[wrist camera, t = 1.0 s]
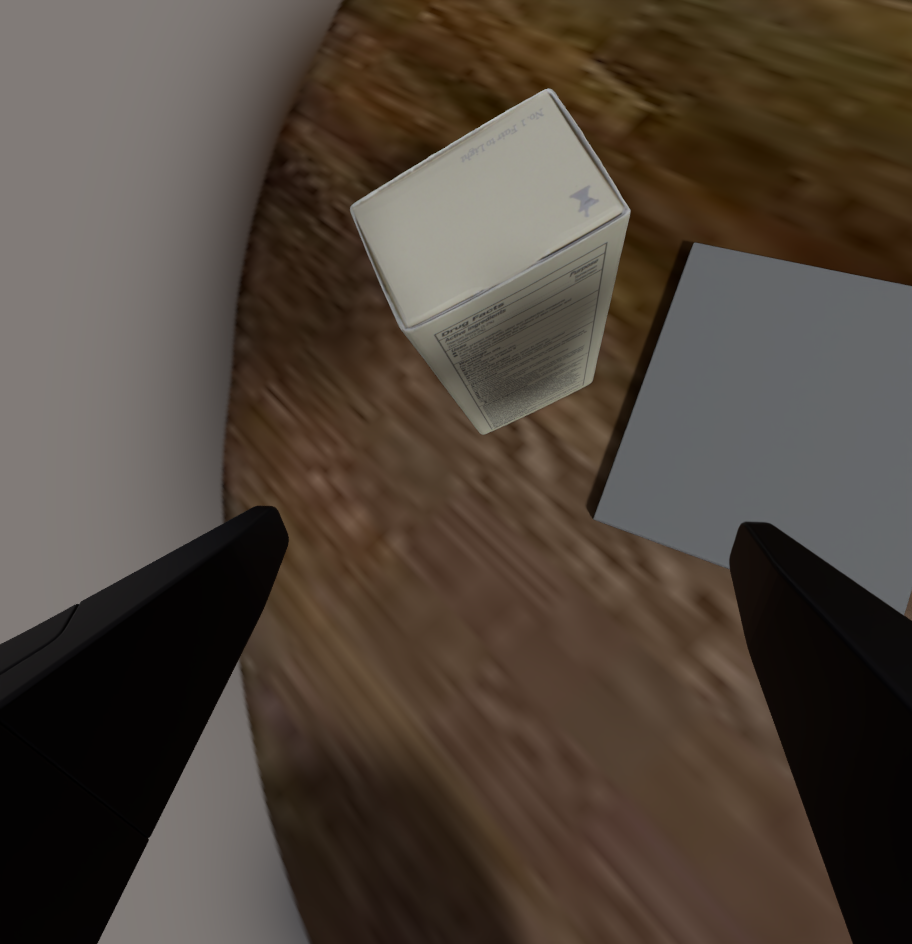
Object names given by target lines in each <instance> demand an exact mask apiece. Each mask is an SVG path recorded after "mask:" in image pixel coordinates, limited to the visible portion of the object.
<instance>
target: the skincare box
mask: <svg viewBox="0 0 912 944" xmlns="http://www.w3.org/2000/svg"><path fill="white" fill-rule="evenodd" d="M350 212H351V215H352V217H353V220H354V222H355V224H356V227H357V229H358V232H359V234H360V237H361V239H362V242H363V244H364V247H365V249H366V252H367V254H368V257H369V259H370V261H371V264H372V266H373V268H374V271H375V273H376V276H377V278H378V280H379V283H380V285H381V287H382V290H383V292H384V294H385V296H386V299H387V301H388V303H389V305H390V308H391V310H392V312H393V314H394V316H395V318H396V321H397V323H398V325H399V327H400V329H401V330H402V332H403V333H404V334H405V336H406V337H407V338H408V339H409V341H410V342H411V343H412V344H413V346H414V347H415V348H416V350H417V351H418V352H419V353H420V355H421V356H422V357H423V359H424V360H425V361H426V363H427V364H428V365H429V367H430V368H431V369H432V371H433V372H434V373H435V375H436V376H437V377H438V379H439V380H440V381H441V383H442V384H443V385H444V387H445V388H446V389H447V390H448V392H449V393H450V394H451V396H452V397H453V399H454V400H455V401H456V402H457V404H458V405H459V406H460V408H461V409H462V410H463V412H464V413H465V414H466V416H467V417H468V418H469V420H470V421H471V422H472V424H473V425H474V426H475V428H476V429H477V430H478V432H479V433H480V434H487V433H489V432H491V431H494V430H496V429H498V428H500V427H502V426H505V425H507V424H509V423H511V422H513V421H515V420H518V419H520V418H522V417H524V416H526V415H528V414H530V413H532V412H535V411H537V410H539V409H541V408H543V407H545V406H547V405H549V404H551V403H553V402H555V401H557V400H559V399H561V398H563V397H565V396H567V395H569V394H571V393H573V392H575V391H577V390H579V389H581V388H583V387H585V386H587V385H589V384H590V383H591V382H592V381H593V377H594V373H595V368H596V363H597V358H598V354H599V349H600V345H601V341H602V336H603V332H604V327H605V323H606V318H607V314H608V309H609V305H610V301H611V296H612V292H613V287H614V283H615V278H616V273H617V269H618V264H619V260H620V255H621V251H622V247H623V243H624V238H625V234H626V229H627V225H628V221H629V217H630V209H629V207H628V206H627V204H626V203H625V201H624V200H623V198H622V197H621V195H620V193H619V191H618V189H617V187H616V186H615V184H614V183H613V181H612V179H611V178H610V176H609V175H608V173H607V171H606V169H605V168H604V167H603V165H602V163H601V161H600V159H599V158H598V157H597V155H596V154H595V152H594V151H593V149H592V147H591V146H590V144H589V143H588V141H587V140H586V138H585V136H584V135H583V133H582V131H581V130H580V128H579V127H578V125H577V124H576V122H575V121H574V119H573V118H572V116H571V115H570V114H569V112H568V111H567V109H566V108H565V106H564V105H563V104H562V102H561V101H560V99H559V98H558V96H557V95H556V93H555V92H554V91H553V90H552V89H545V90H543V91H541V92H539V93H538V94H536V95H534V96H533V97H531V98H529V99H527V100H525V101H523V102H522V103H520V104H518V105H516V106H514V107H513V108H511V109H509V110H507V111H505V112H504V113H502V114H500V115H499V116H497V117H496V118H494V119H492V120H490V121H489V122H487V123H485V124H483V125H482V126H480V127H479V128H477V129H475V130H474V131H471V132H470V133H468V134H467V135H465V136H463V137H462V138H460V139H458V140H456V141H455V142H453V143H451V144H450V145H448V146H447V147H445V148H444V149H442V150H440V151H439V152H437V153H435V154H433V155H431V156H429V157H428V158H427V159H426V160H423V161H422V162H420V163H418V164H417V165H415V166H414V167H412V168H410V169H408V170H407V171H405V172H404V173H402V174H400V175H399V176H397V177H396V178H394V179H393V180H391V181H389V182H387V183H386V184H384V185H382V186H381V187H379V188H378V189H376V190H374V191H373V192H371V193H369V194H368V195H367V196H365V197H363V198H361V199H360V200H358V201H356V202H355V203H354V204H352V205H351V208H350Z"/></svg>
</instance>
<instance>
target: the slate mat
mask: <svg viewBox="0 0 912 944" xmlns="http://www.w3.org/2000/svg"><path fill="white" fill-rule="evenodd" d="M593 519H594V520H596V521H599V522H602V523H605V524H607V525H610V526H613V527H615V528H618V529H621V530H624V531H626V532H629V533H632V534H635V535H637V536H640V537H643V538H645V539H648V540H651V541H654V542H656V543H659V544H662V545H665V546H667V547H670V548H673V549H675V550H678V551H681V552H684V553H686V554H689V555H692V556H695V557H697V558H700V559H703V560H706V561H708V562H711V563H714V564H716V565H719V566H722V567H725V568H727V569H730V567H729V558H730V553H731V550H732V547H733V543H734V540H735V537H736V534H737V531H738V528H739V526H740V524H741V523H743V522H745V521H752V522H768V523H771V524H773V525H774V526H776V527H777V528H778V529H780V530H781V531H783V532H784V533H786V534H787V535H789V536H790V537H791V538H793V539H794V540H796V541H797V542H799V543H800V544H802V545H803V546H804V547H806V548H807V549H809V550H810V551H812V552H813V553H815V554H816V555H817V556H819V557H820V558H822V559H823V560H825V561H826V562H828V563H829V564H830V565H832V566H833V567H835V568H836V569H838V570H839V571H841V572H842V573H843V574H845V575H846V576H848V577H849V578H851V579H852V580H853V581H855V582H856V583H858V584H859V585H861V586H862V587H864V588H865V589H866V590H868V591H869V592H871V593H872V594H874V595H875V596H877V597H878V598H879V599H881V600H882V601H884V602H885V603H887V604H888V605H890V606H891V607H892V608H894V609H895V610H897V611H898V612H900V613H901V614H903V615H904V613H905V610H906V607H907V603H908V600H909V597H910V593H911V590H912V286H907V285H902V284H897V283H892V282H887V281H882V280H877V279H872V278H867V277H862V276H858V275H853V274H848V273H843V272H838V271H833V270H828V269H823V268H818V267H813V266H808V265H803V264H798V263H793V262H788V261H783V260H778V259H773V258H768V257H763V256H759V255H754V254H749V253H744V252H739V251H734V250H729V249H724V248H719V247H714V246H709V245H704V244H699V243H694V244H693V246H692V248H691V250H690V253H689V256H688V258H687V261H686V264H685V267H684V269H683V272H682V275H681V278H680V280H679V283H678V286H677V289H676V291H675V294H674V297H673V300H672V302H671V305H670V308H669V311H668V314H667V316H666V319H665V322H664V325H663V327H662V330H661V333H660V336H659V338H658V341H657V344H656V347H655V349H654V352H653V355H652V358H651V360H650V363H649V366H648V369H647V371H646V374H645V377H644V380H643V382H642V385H641V388H640V391H639V393H638V396H637V399H636V402H635V404H634V407H633V410H632V413H631V415H630V418H629V421H628V424H627V426H626V429H625V432H624V435H623V438H622V440H621V443H620V446H619V449H618V451H617V454H616V457H615V460H614V462H613V465H612V468H611V471H610V473H609V476H608V479H607V482H606V484H605V487H604V490H603V493H602V495H601V498H600V501H599V504H598V506H597V509H596V512H595V515H594V517H593Z"/></svg>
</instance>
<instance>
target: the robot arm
mask: <svg viewBox="0 0 912 944" xmlns="http://www.w3.org/2000/svg"><path fill="white" fill-rule="evenodd" d="M288 542H289V537H288V533H287V530H286V528H285V526H284V523H283V521H282V518H281V516H280V514H279V511H278V510H277V509H276V508H275V507H273V506H255V507H253V508H251V509H249V510H247V511H245V512H244V513H242V514H240V515H238V516H236V517H234V518H233V519H231V520H229V521H227V522H225V523H223V524H222V525H220V526H218V527H216V528H214V529H213V530H211V531H209V532H207V533H205V534H203V535H202V536H200V537H198V538H196V539H194V540H192V541H191V542H189V543H187V544H185V545H183V546H182V547H180V548H178V549H176V550H174V551H173V552H171V553H169V554H167V555H165V556H163V557H161V558H160V559H158V560H156V561H154V562H152V563H151V564H149V565H147V566H145V567H143V568H141V569H140V570H138V571H136V572H134V573H132V574H131V575H129V576H127V577H125V578H123V579H121V580H119V581H118V582H116V583H114V584H113V585H111V586H109V587H107V588H105V589H103V590H101V591H99V592H98V593H96V594H94V595H92V596H90V597H88V598H87V599H85V600H83V601H81V602H80V604H76V605H74V606H72V607H70V608H68V609H67V610H65V611H63V612H61V613H59V614H57V615H55V616H54V617H52V618H50V619H48V620H46V621H44V622H43V623H41V624H39V625H37V626H35V627H33V628H31V629H29V630H27V631H25V632H24V633H22V634H20V635H18V636H16V637H14V638H12V639H10V640H8V641H6V642H4V643H2V644H0V944H97V943H98V941H99V939H100V937H101V935H102V933H103V931H104V929H105V927H106V925H107V923H108V921H109V919H110V917H111V915H112V913H113V911H114V909H115V907H116V905H117V903H118V901H119V899H120V897H121V895H122V893H123V891H124V889H125V887H126V885H127V883H128V881H129V879H130V877H131V875H132V873H133V871H134V869H135V867H136V865H137V863H138V861H139V859H140V857H141V855H142V853H143V851H144V849H145V847H146V845H147V843H148V841H149V839H148V838H149V837H150V836H151V834H152V832H153V830H154V828H155V826H156V824H157V822H158V820H159V818H160V816H161V814H162V812H163V810H164V808H165V806H166V804H167V802H168V800H169V798H170V796H171V794H172V792H173V790H174V788H175V786H176V784H177V782H178V780H179V778H180V776H181V774H182V772H183V770H184V768H185V766H186V764H187V762H188V760H189V758H190V756H191V754H192V752H193V750H194V748H195V746H196V744H197V742H198V740H199V738H200V736H201V734H202V732H203V730H204V728H205V726H206V724H207V722H208V720H209V718H210V716H211V714H212V712H213V710H214V708H215V706H216V704H217V702H218V700H219V698H220V696H221V694H222V692H223V690H224V688H225V686H226V684H227V682H228V680H229V678H230V676H231V674H232V672H233V670H234V668H235V666H236V664H237V662H238V660H239V658H240V656H241V654H242V652H243V650H244V648H245V646H246V644H247V642H248V640H249V638H250V636H251V634H252V632H253V630H254V628H255V626H256V624H257V622H258V620H259V618H260V616H261V613H262V611H263V609H264V607H265V604H266V602H267V600H268V597H269V595H270V592H271V589H272V587H273V584H274V581H275V579H276V576H277V573H278V571H279V568H280V565H281V563H282V560H283V557H284V555H285V552H286V550H287V547H288ZM729 567H730V572H731V577H732V581H733V586H734V590H735V595H736V599H737V604H738V608H739V612H740V617H741V621H742V626H743V630H744V635H745V639H746V643H747V647H748V650H749V653H750V656H751V659H752V663H753V665H754V668H755V671H756V674H757V677H758V679H759V682H760V685H761V688H762V691H763V693H764V696H765V699H766V702H767V705H768V707H769V710H770V713H771V716H772V719H773V721H774V724H775V727H776V730H777V733H778V735H779V738H780V741H781V744H782V747H783V749H784V752H785V755H786V758H787V761H788V763H789V766H790V769H791V772H792V775H793V777H794V780H795V783H796V786H797V789H798V791H799V794H800V797H801V800H802V803H803V805H804V808H805V811H806V814H807V817H808V819H809V822H810V825H811V828H812V831H813V833H814V836H815V839H816V842H817V845H818V847H819V850H820V853H821V856H822V859H823V861H824V864H825V867H826V870H827V873H828V875H829V878H830V881H831V884H832V887H833V890H834V892H835V895H836V898H837V901H838V904H839V906H840V909H841V912H842V915H843V918H844V920H845V923H846V926H847V929H848V932H849V934H850V937H851V940H852V943H853V944H912V621H911V620H910V619H908V618H907V617H905V616H904V615H903V614H901V613H900V612H898V611H897V610H895V609H894V608H892V607H891V606H890V605H888V604H887V603H885V602H884V601H882V600H881V599H879V598H878V597H877V596H875V595H874V594H872V593H871V592H869V591H868V590H866V589H865V588H864V587H862V586H861V585H859V584H858V583H856V582H855V581H853V580H852V579H851V578H849V577H848V576H846V575H845V574H843V573H842V572H841V571H839V570H838V569H836V568H835V567H833V566H832V565H830V564H829V563H828V562H826V561H825V560H823V559H822V558H820V557H819V556H817V555H816V554H815V553H813V552H812V551H810V550H809V549H807V548H806V547H804V546H803V545H802V544H800V543H799V542H797V541H796V540H794V539H793V538H791V537H790V536H789V535H787V534H786V533H784V532H783V531H781V530H780V529H778V528H777V527H776V526H774V525H773V524H771V523H768V522H752V521H745V522H743V523H741V524H740V526H739V528H738V531H737V534H736V537H735V540H734V543H733V547H732V550H731V553H730V558H729Z"/></svg>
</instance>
